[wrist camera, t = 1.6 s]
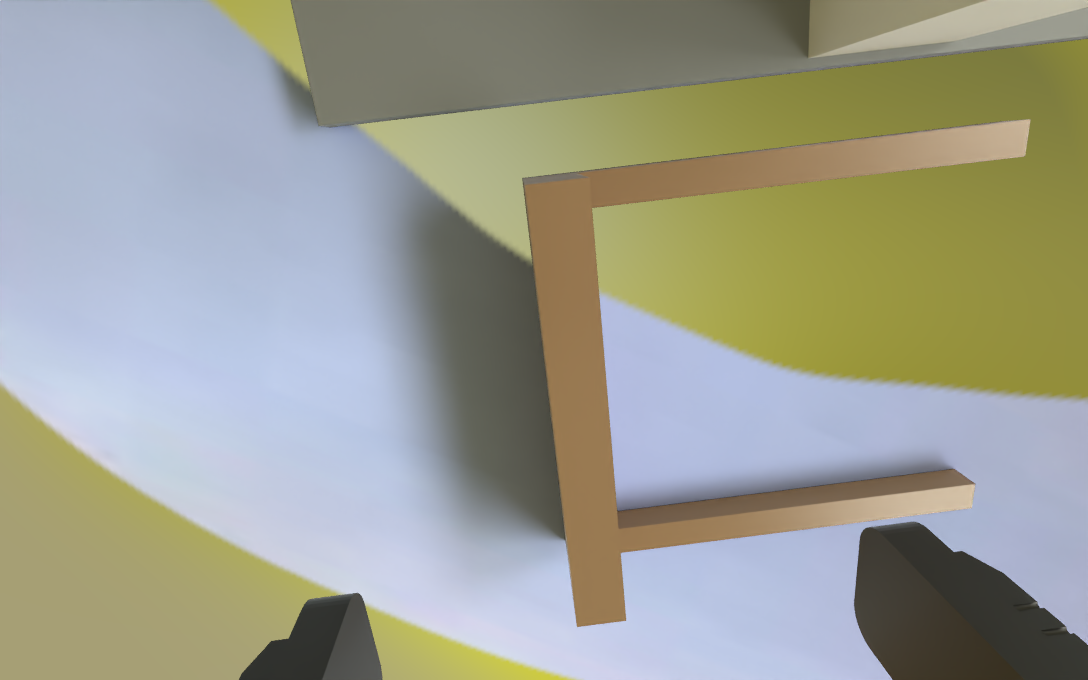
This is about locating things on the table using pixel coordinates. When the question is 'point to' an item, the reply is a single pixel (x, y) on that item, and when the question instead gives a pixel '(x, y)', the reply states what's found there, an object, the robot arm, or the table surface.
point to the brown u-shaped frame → (580, 366)
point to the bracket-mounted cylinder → (625, 45)
